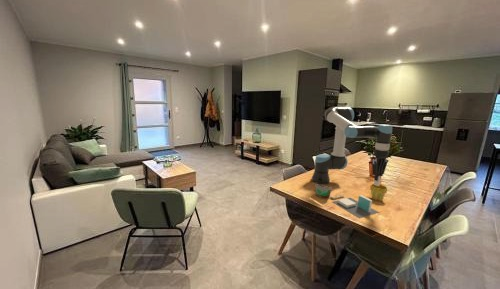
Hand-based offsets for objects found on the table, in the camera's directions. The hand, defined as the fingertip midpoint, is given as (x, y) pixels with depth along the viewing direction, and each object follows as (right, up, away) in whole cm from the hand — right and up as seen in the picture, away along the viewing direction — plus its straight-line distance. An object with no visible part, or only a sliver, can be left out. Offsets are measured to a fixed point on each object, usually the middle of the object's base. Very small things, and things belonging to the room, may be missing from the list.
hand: (376, 185), depth 134 cm
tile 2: (-9, -16, 0) cm, 18 cm away
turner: (-16, -13, +17) cm, 27 cm away
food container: (-30, -13, +17) cm, 37 cm away
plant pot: (+11, -14, +17) cm, 25 cm away
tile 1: (-13, -13, +7) cm, 20 cm away
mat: (-13, -16, +3) cm, 21 cm away
